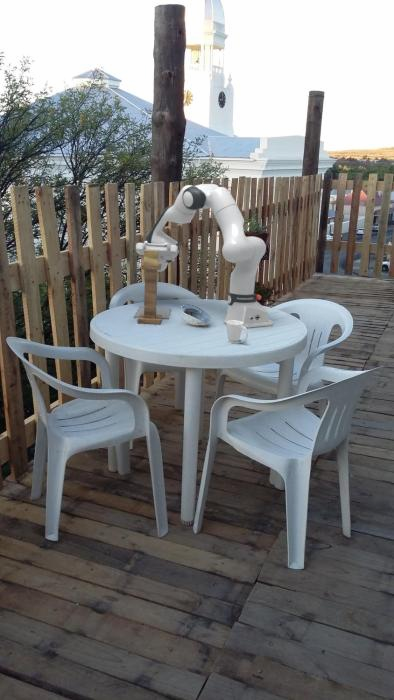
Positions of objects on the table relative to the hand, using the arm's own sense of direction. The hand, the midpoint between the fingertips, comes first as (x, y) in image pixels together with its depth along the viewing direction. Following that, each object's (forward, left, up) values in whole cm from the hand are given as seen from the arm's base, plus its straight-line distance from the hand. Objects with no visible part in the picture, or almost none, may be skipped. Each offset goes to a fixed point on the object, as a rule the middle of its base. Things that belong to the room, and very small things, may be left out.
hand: (156, 243), depth 269 cm
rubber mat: (+2, +4, -33) cm, 33 cm away
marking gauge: (+6, +16, -7) cm, 18 cm away
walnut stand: (+7, +20, -33) cm, 39 cm away
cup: (-19, +59, -33) cm, 70 cm away
